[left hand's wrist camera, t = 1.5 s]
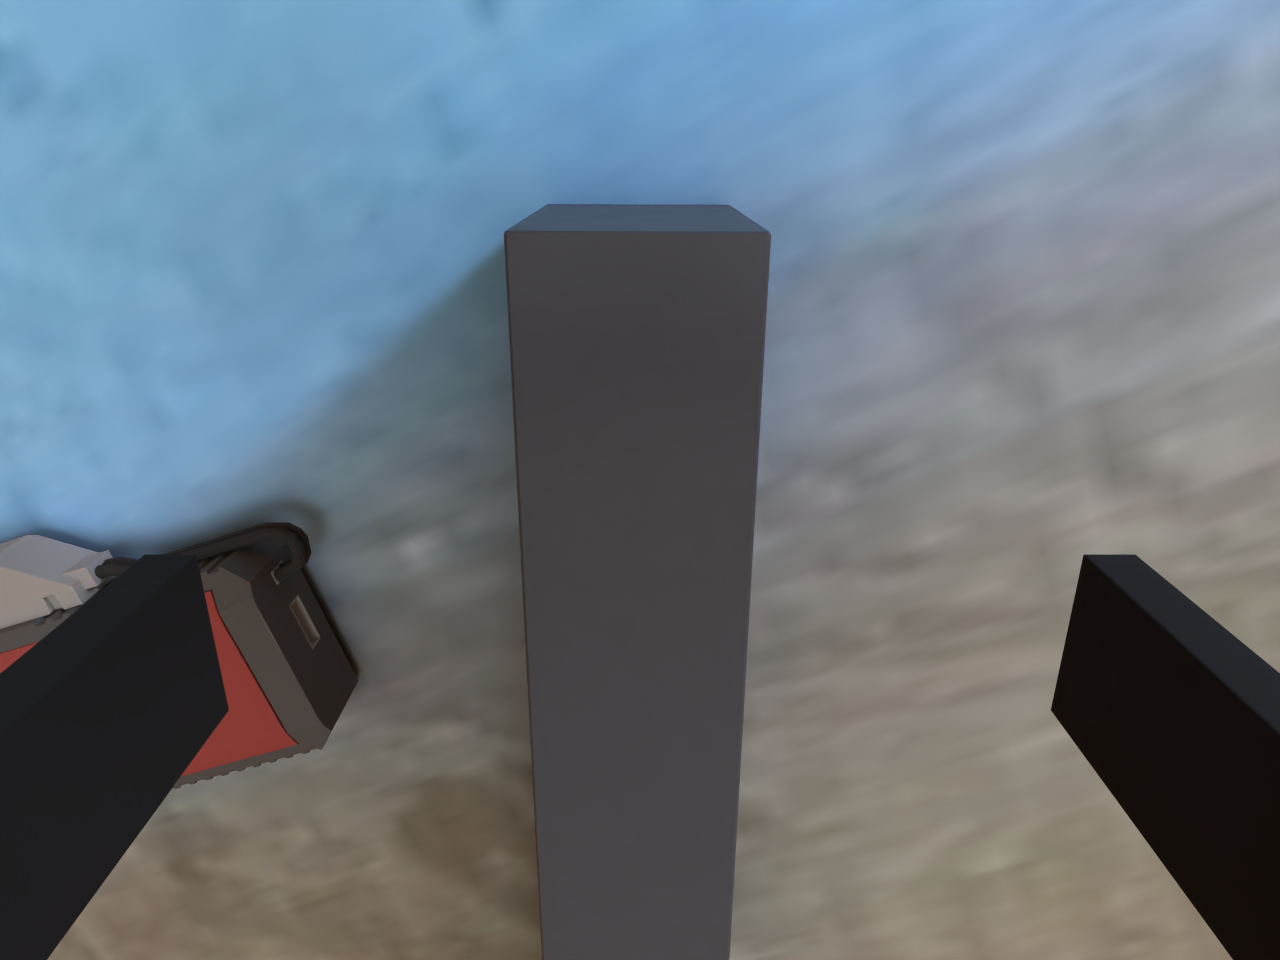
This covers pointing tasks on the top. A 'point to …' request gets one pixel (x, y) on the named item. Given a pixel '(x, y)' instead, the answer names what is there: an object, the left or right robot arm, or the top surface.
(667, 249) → the bar
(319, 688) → the walkie-talkie
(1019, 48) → the top surface
